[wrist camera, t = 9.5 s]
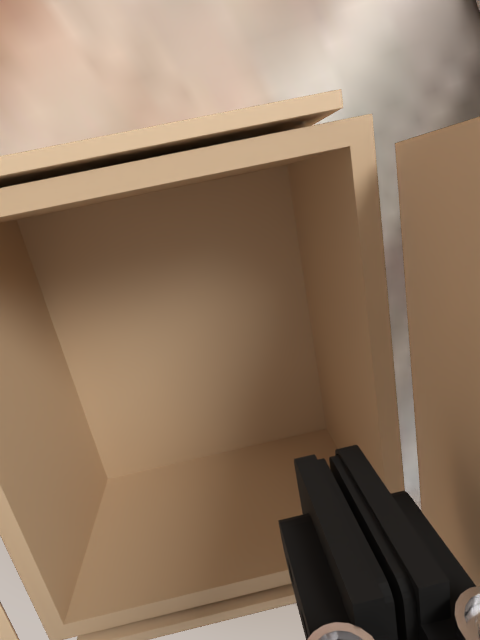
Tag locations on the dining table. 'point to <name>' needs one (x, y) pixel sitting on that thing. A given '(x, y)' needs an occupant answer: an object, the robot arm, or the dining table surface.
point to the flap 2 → (445, 326)
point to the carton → (185, 359)
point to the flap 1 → (6, 627)
